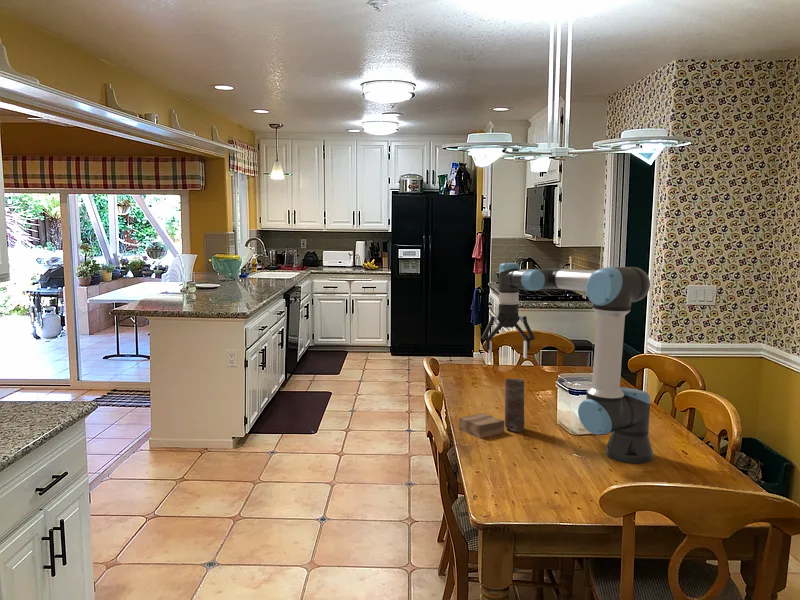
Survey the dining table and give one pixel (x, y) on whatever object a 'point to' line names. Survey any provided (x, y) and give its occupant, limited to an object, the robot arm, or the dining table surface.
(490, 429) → the walnut block
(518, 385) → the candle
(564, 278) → the robot arm
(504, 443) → the dining table surface
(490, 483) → the dining table surface
